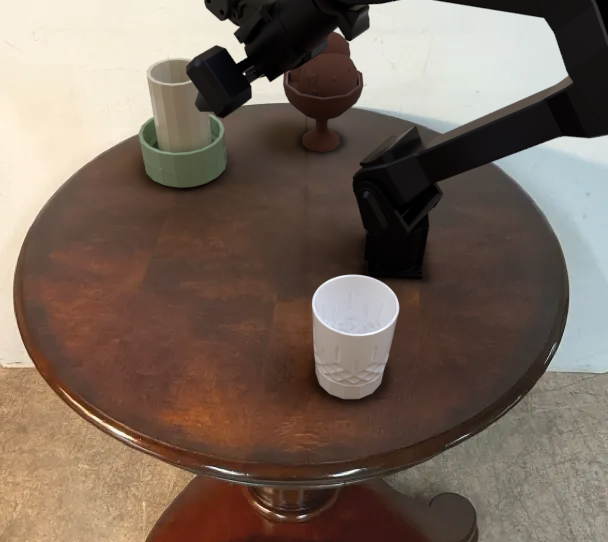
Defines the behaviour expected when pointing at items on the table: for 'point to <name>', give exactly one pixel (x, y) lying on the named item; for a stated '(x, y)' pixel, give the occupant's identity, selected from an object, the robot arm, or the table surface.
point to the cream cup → (176, 108)
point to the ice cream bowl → (324, 91)
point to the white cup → (352, 334)
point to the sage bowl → (184, 158)
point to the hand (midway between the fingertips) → (223, 91)
